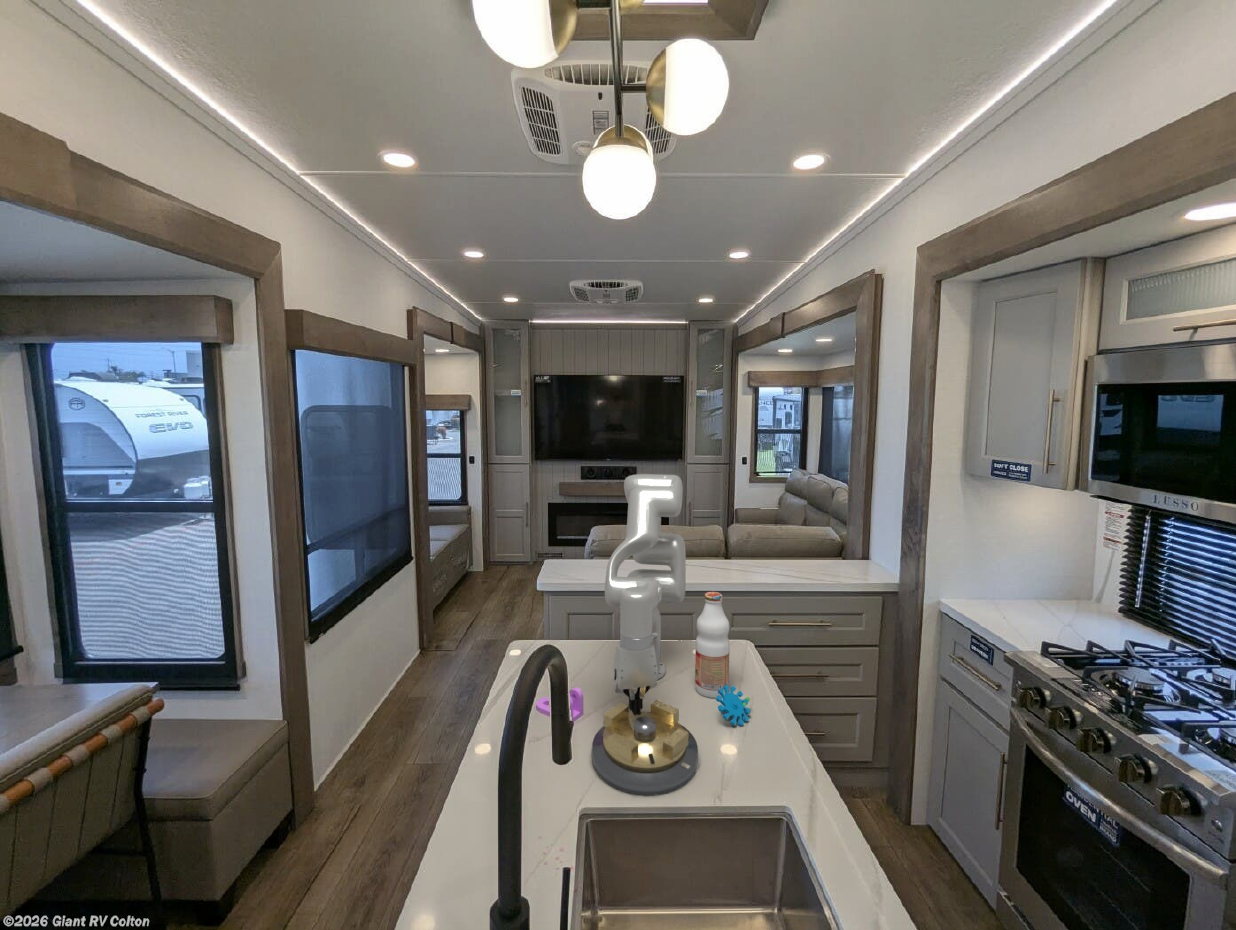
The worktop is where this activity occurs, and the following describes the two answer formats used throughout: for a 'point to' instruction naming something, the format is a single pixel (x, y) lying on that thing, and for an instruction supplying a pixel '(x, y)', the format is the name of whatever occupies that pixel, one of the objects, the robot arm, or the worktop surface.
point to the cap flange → (640, 780)
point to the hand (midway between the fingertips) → (635, 711)
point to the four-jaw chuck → (644, 738)
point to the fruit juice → (712, 648)
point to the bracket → (575, 704)
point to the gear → (733, 705)
